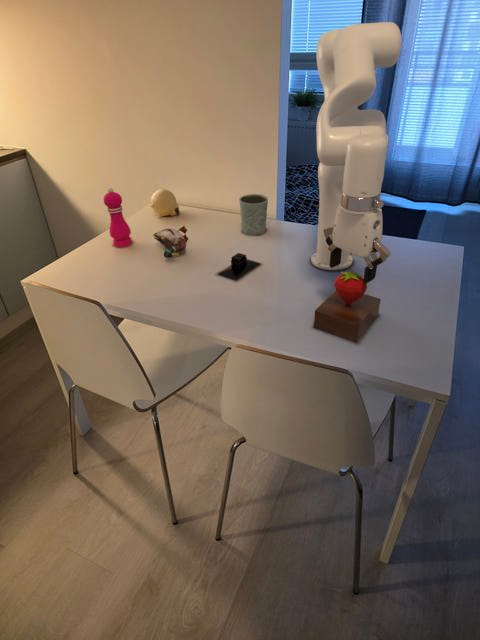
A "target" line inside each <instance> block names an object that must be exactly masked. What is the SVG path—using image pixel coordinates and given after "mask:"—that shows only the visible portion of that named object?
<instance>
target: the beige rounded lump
mask: <svg viewBox="0 0 480 640" xmlns="http://www.w3.org/2000/svg"><path fill="white" fill-rule="evenodd" d="M149 204H150V207H151V209H153V211H154V212H155V213H156V214H157V217H158V218H161V217H167V216H171V217H172V216H173V217H174V216H177V215H178V214H179V213H180V205H179V204H178V202H177V199H176V196H175V194H174V193H173V192H172V191H170V190H169V189H167V188H160V189H158V190H156V191H154V192H153V194H152V195H151V197H150V200H149Z"/></svg>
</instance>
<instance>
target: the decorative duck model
mask: <svg viewBox="0 0 480 640" xmlns="http://www.w3.org/2000/svg"><path fill="white" fill-rule="evenodd" d="M187 232H188V229H187V228H186V226H185V225H182V226H181V227H180V228H179V229H178V230H177V229H174V228H164V229H161V230H159V231H157V232H155V233H153V236H152V237H153V239H155V240H156V241H157V242H159V244H161V245H162V246H163V247H165V248H166V250H164V253H163V257H164V258H165V259H170V258H174V257H180V256H181V254H180V253H182V252H184V251H185V250H186V248H187V243H188V240H189V239H190V238H189V237H188V236H187Z"/></svg>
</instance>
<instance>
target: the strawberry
mask: <svg viewBox="0 0 480 640" xmlns="http://www.w3.org/2000/svg"><path fill="white" fill-rule="evenodd" d="M340 273H341V274H340V275H338V276H337V277H335V280H334V282H333V284H334V289H335V290H336V292H337V293H338V295H339V296H340V298H341V299H342V300H343V301H344V302H345V303H346V304H347V305H350V304H352V303H353V302H355V301H356V300H358V299H359V298H360V297H362V296H363V295H364V294H365V293H366V291H367V290H368V283H367V284H365V283H363V278H364V275H361V274H360V272H354V270H353V269H352V270H351V269H349V271H346V272H345V271H340ZM335 290H334V291H335Z"/></svg>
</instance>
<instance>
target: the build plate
mask: <svg viewBox="0 0 480 640" xmlns="http://www.w3.org/2000/svg"><path fill="white" fill-rule="evenodd" d="M260 265H261V263H260V262H256V261H253V260H249V259H248V257H247V255H246V254H244V253H241V252H238V253H236V254H234V255H232V256H231V260H230V265H229V266H228V267H226V268H225V269H223V270H221V271H220V272H218V274H217V275H218V276H221V277H223V278H226V279H229V280H232V281H238V280H240V279H241V278H243V277H244V276H246V275H247V274H249V273H250V272H251V271H253V270H254V269H256V268H257V267H259V266H260Z"/></svg>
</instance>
